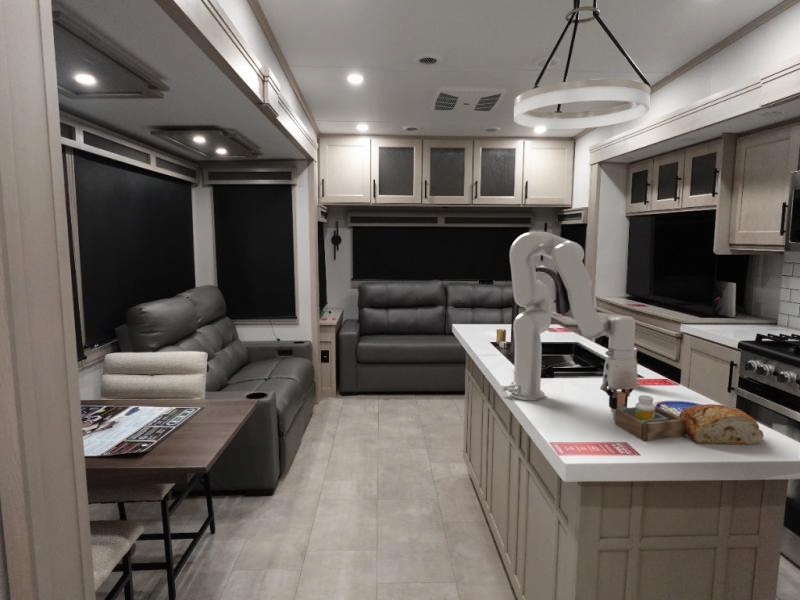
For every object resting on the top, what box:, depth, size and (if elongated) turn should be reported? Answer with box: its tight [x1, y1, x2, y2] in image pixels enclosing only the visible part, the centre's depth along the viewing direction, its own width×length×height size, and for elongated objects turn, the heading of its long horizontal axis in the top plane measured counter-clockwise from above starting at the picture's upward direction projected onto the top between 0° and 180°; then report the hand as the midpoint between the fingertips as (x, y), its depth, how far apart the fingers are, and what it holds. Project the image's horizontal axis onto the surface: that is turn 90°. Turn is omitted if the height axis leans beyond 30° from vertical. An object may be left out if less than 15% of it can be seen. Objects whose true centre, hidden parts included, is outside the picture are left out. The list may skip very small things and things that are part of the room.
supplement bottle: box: [635, 394, 656, 420], centre depth 151 cm, size 5×5×10 cm
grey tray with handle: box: [610, 390, 669, 423], centre depth 156 cm, size 11×18×7 cm, turn 13°
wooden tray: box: [614, 405, 686, 442], centre depth 149 cm, size 14×13×5 cm
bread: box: [678, 403, 765, 445], centre depth 146 cm, size 20×18×10 cm
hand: (617, 407), depth 163 cm, fingers closed on grey tray with handle, 3 cm apart
